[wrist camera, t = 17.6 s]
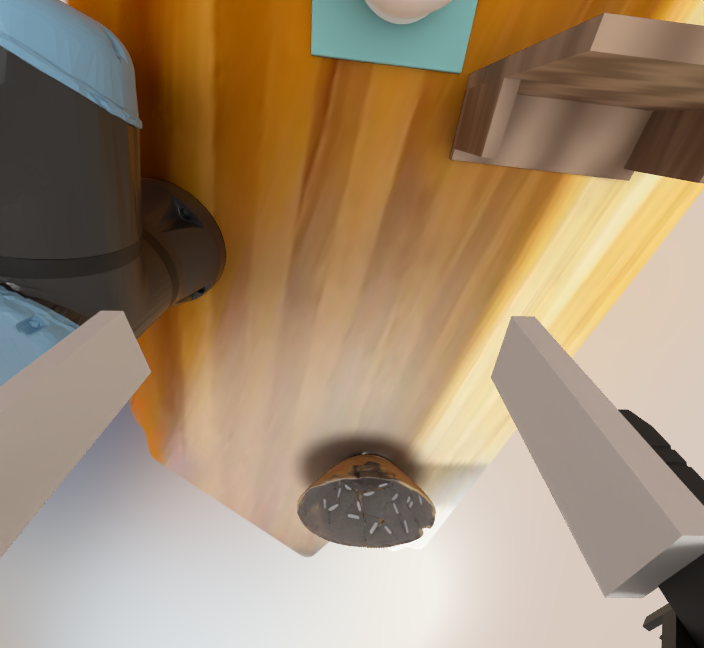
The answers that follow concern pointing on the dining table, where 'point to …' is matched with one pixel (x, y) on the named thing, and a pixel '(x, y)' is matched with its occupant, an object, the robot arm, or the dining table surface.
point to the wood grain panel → (593, 102)
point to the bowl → (366, 504)
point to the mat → (392, 35)
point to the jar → (404, 9)
